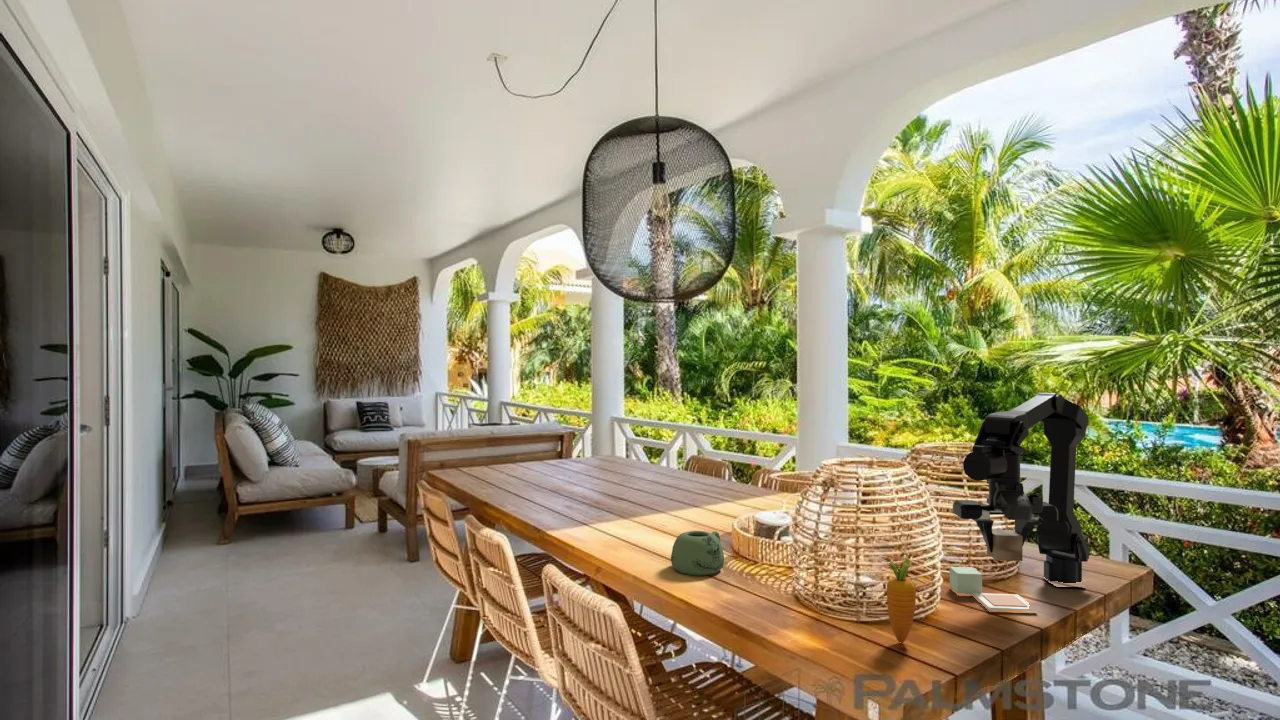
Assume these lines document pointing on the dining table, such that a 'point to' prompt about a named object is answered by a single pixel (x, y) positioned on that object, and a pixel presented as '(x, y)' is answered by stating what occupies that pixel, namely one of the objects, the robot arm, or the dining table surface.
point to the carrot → (901, 601)
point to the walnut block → (1006, 545)
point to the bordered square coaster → (1002, 601)
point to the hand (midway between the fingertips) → (1004, 552)
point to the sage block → (965, 580)
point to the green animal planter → (697, 553)
